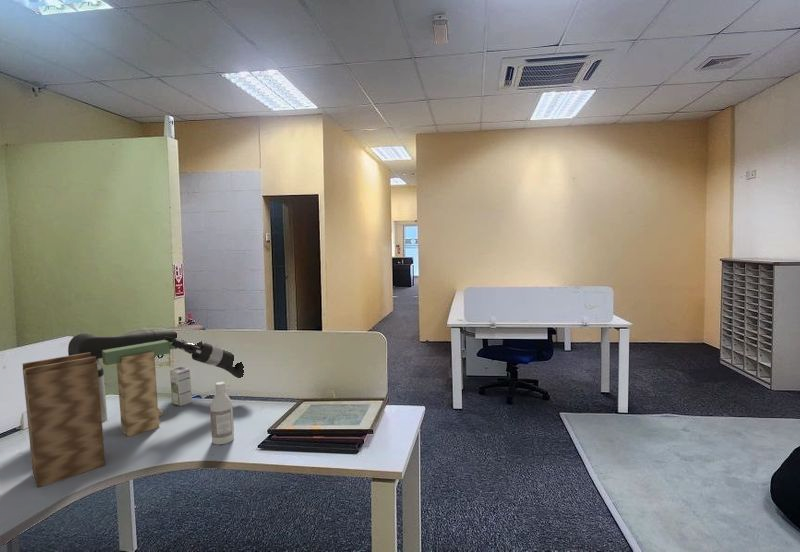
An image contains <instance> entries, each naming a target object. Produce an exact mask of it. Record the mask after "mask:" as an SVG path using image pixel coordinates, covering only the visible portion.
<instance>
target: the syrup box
mask: <svg viewBox="0 0 800 552" xmlns="http://www.w3.org/2000/svg"><path fill="white" fill-rule="evenodd" d="M169 376H170V391H171V403H172V404H173V405H175V406H179V407H181V406H186V405H188V404H190V403H193V397H192V396H193V395H192V381H191V380H192V379H191V369H190V368H187V367H184V366H180V367H175V368H172V369H169Z"/></svg>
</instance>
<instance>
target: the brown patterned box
mask: <svg viewBox="0 0 800 552" xmlns="http://www.w3.org/2000/svg"><path fill="white" fill-rule="evenodd" d="M22 376H23V385H24V387H23V388H24V395H25V396H24V397H25V407H26V416H27V417H26V418H27V426H28V427H27V428H28V437H29V438H28V439H29V448H30V458H31V469H32V475H34V476H33V478H34V482H35V485H36V487H38V488H41V487H44V486H46V484H47V485H49V484H53V483H56V482H59V481H62V480H65V479H68V478H71V477H75V476H77V475H81V474H83V473H86V472H89V471H92V470H96V469H98V468H102V467H104V466H105V467H106V457H105V456H106V455H105V444H104V443H105V442H104V431H103V422H102V417H101V404H100V392H99V379H98V367H97V362H96V357H95V356H94V357H91V352H89V353H83V354H77V355H71V356H69V355H66V356H60V357H59V356H58V357H53V358H48V359H41V360H37V361H29V362H24V363H22ZM40 486H41V487H40Z"/></svg>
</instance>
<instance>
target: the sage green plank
mask: <svg viewBox="0 0 800 552" xmlns="http://www.w3.org/2000/svg"><path fill="white" fill-rule="evenodd" d="M171 343H172V342H170V343H169V341H167V340H161V341H155V342H149V343H143V344H137V345H131V346H125V347H119V348H113V349H107V350H102V358H101V359H102V364H104V365H105V366H111V365H115V364H116V365H117V363H121V357H126V356H131V355H137V354H143V353H148V352H154V357H157V356H163V355H168V354H171V353H170V351H171V350H177V349H179V348H178V347H175V346H172V345H171Z"/></svg>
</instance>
